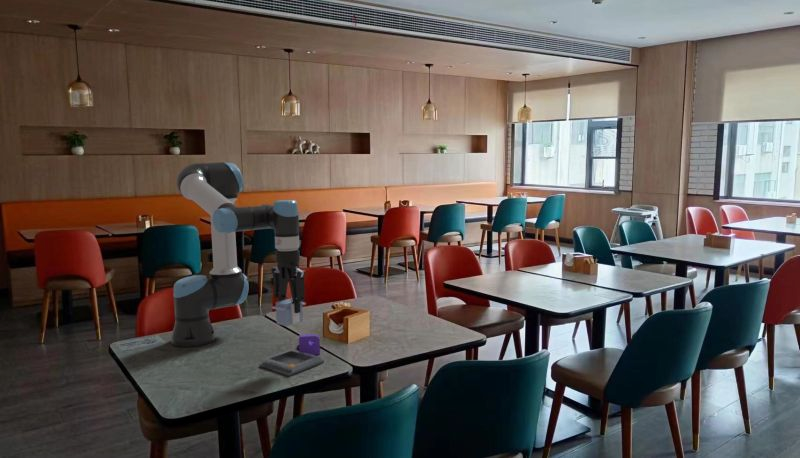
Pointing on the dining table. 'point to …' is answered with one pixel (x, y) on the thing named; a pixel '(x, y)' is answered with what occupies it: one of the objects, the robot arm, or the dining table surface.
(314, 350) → the purple block
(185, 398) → the dining table surface
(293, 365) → the tray
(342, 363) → the dining table surface
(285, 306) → the servo
